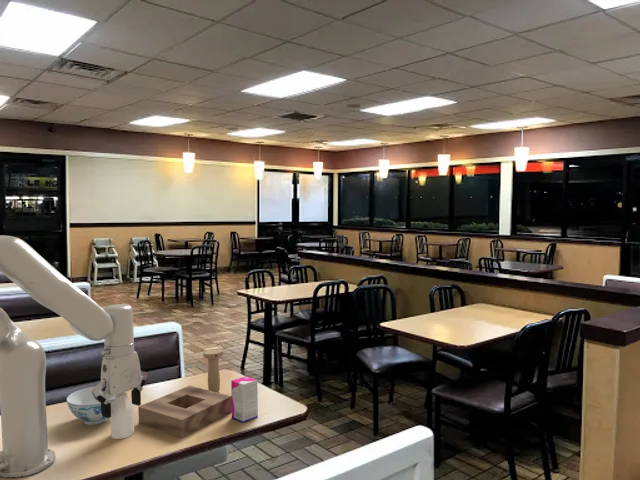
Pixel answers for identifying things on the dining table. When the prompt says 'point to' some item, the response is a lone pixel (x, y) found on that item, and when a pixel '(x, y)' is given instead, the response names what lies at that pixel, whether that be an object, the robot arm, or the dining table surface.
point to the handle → (213, 369)
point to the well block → (185, 410)
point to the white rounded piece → (122, 417)
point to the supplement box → (244, 399)
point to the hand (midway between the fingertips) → (121, 410)
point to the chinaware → (87, 406)
